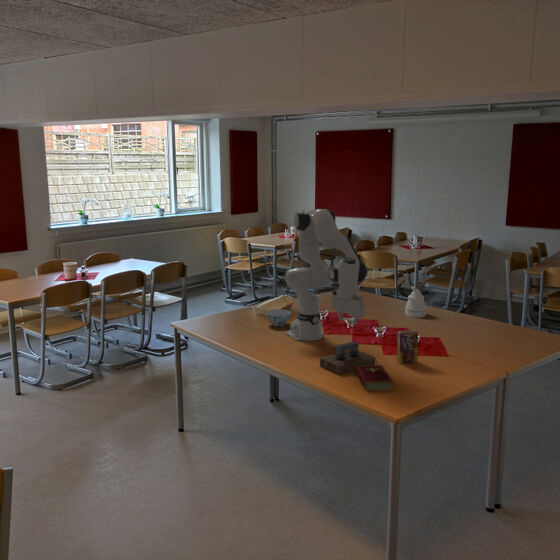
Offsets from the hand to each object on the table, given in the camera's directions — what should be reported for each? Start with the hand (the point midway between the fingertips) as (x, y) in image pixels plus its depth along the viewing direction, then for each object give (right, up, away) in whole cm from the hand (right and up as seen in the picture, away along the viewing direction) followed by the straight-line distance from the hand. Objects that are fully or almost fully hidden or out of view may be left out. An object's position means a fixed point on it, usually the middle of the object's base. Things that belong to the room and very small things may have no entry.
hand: (347, 322), depth 261 cm
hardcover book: (+9, -25, -16) cm, 31 cm away
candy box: (+29, -20, +7) cm, 36 cm away
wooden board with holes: (0, -21, +4) cm, 21 cm away
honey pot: (+54, -3, +93) cm, 108 cm away
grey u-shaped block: (0, -21, +4) cm, 21 cm away
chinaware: (-32, -8, +75) cm, 82 cm away
